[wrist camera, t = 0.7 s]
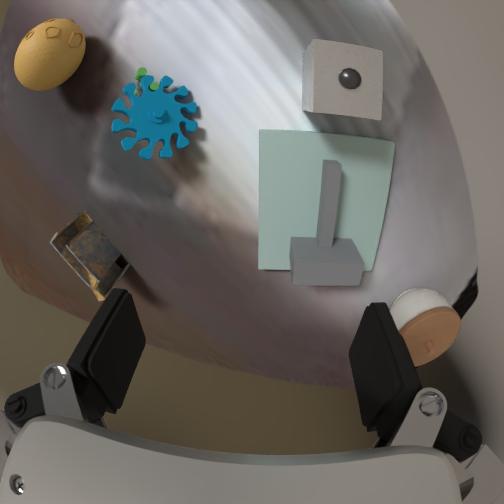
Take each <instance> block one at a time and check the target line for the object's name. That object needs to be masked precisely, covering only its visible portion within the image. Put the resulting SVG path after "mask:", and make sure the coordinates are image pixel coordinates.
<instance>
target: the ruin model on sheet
mask: <svg viewBox="0 0 504 504" xmlns="http://www.w3.org/2000/svg"><path fill="white" fill-rule="evenodd" d="M50 243H51V245H52V246H53V247H54V248H55V249H56V251H57V252H58V253H59V254H60V255H61V256H62V258H63V259H64V260H65V261H66V262H67V263H68V264H69V266H70V267H71V268H72V269H73V270H74V271H75V272H76V273H77V274H78V275H79V277H80V278H81V279H82V280H83V281H84V282H85V283H86V284H87V285H88V286H89V287H90V288H91V289H92V290H93V292H94V294H95V295H96V297H97V299H98V301H101V300H105V299H106V297H107V296H108V295H109V293H110V292H111V290H112V289H113V288H115V286H116V285H117V283H118V282H119V280H120V279H121V278H122V276H123V275H124V273H125V272H126V270H127V269H128V267H129V266H130V265H131V264H130V263H129V264H127V265H126V266H125V267H124V268H122V269H121V268H120V267H119V266H118V265H117V264H116V263H115V261H116V260H117V259H118V257H119V256H120V255H121V253H120V252H119V251H118V250H117V249H116V248H115V247H114V246H113V244H112V243H111V242H110V241H109V240H108V239H107V238H106V236H105V235H104V234H103V233H102V232H101V231H100V230H99V228H98V227H97V226H96V225H95V224H94V222H93V221H92V220H91V218H90V217H89V216H88V215H87V214H86V211H82V212H81V213H80V214H78V215H77V216H76V217H75V218H73V219H72V220H71V221H70V222H68V223H67V224H66V225H65V226H63V227H62V228H61V229H60V230H59V231H57V232H56V234H55V235H54V236H53V238H52V239H51V241H50Z"/></svg>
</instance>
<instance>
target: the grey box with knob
mask: <svg viewBox="0 0 504 504" xmlns="http://www.w3.org/2000/svg"><path fill="white" fill-rule="evenodd" d="M382 99H383V50H379V49H375V48H370V47H365V46H360V45H355V44H349V43H343V42H337V41H329V40H321V39H313V40H312V41H311V43H310V44H309V45H308V47H307V48H306V49H305V51H304V52H303V80H302V110H304V111H309V112H315V113H327V114H336V115H345V116H353V117H360V118H367V119H374V120H380V121H381V118H382Z"/></svg>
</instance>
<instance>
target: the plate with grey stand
mask: <svg viewBox="0 0 504 504" xmlns="http://www.w3.org/2000/svg"><path fill="white" fill-rule="evenodd" d="M394 149H395V142H393V141H390V140H384V139H377V138H370V137H363V136H355V135H346V134H337V133H326V132H313V131H296V130H266V129H260V130H259V266H258V269H272V270H291V277H292V285H313V286H359V285H360V281H361V277H362V273H363V271H372V267H373V263H374V259H375V255H376V251H377V247H378V243H379V238H380V234H381V229H382V224H383V219H384V214H385V209H386V203H387V198H388V192H389V186H390V179H391V172H392V165H393V157H394Z"/></svg>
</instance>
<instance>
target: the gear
mask: <svg viewBox="0 0 504 504" xmlns="http://www.w3.org/2000/svg"><path fill="white" fill-rule="evenodd" d="M146 73H147V71H146V69H145V68H139V69H138V71H137V72H136V74H135V76H134V77H135V79H136V80H139V81H138V82H137V84H136V85H135V84H134V83H130V84H127V85H126V86H124V88H123V89H122V91H123V93H124V94H125V95H126V96H128V97H129V99H130V101H131V104H132V108H131V109H127V108H126V107H125V104H124V101H123V100H122V99H119V98H118V99H117V100H116V101H115V103H114V104H113V106H112V108H111V110H112V111H113V112H119V113H123V114H125V115H126V116H127V117H128V118H129V119H130V124H125V123H124V122H123V121H121V120H120V119H115V120H114V121H113V123H112V132H113V133H118V132H120V131H122V130H131V131H134V132H136V135H137V136H136V138H130V137H126V138H124V139H123V140H122V141H121V145H122V147H123V149H124V150H125V151H128V150H130V149H131V148H132V147H133V145H134V144H135V143H136V142H138V141H140V140H143V139H146V140H148V142H149V146H148V147H146V148H143V149H142V150H140V152H139V154H138V156H139V157H141V158H142V159H144V160H148V159H150V158H151V156H152V150H153V147H154V145H155V144H156V142H157V141H159V140H160V141H162V142H163V143H164V146H163V148H162V149H161V150H160V152H159V157H160V158H170V157H172V155H173V152H172V150H171V147H170V138H171V135H172V134H174V135H175V136H176V138H177V140H176V147H177V148H178V149H181V148H183V147H185V146H187V145H188V144H189V140H188V139H187V138H186V137H185V136H183V134H182V133H181V131H180V127H179V123H183V124H184V127H185V130H186V131H187V132H188V133H192V132H193V131H195V129H196V128H197V125H198V124H197V122H195V121H191V120H188V119H186V118H185V117H184V116H183V115H182V114H181V112H180V109H183V110H184V111H185V112H186V113H187V114H193V113H195V112H196V109H197V107H196V103H194V102H191V103H188V104H182V103H179V102H176V101H175V99H174V97H179V98H184V97H185V96H187V95H188V90H187V88H186V87H185V86H181V87H180V88H179V89H177V90H176V92H173V93H169V94H166V93H164V92H163V88H167V87H169V86H170V85H171V84H172V83H173V80H172V79H171V78H170V77H168V76H164V77H163V78H162V79H161V81H160V85H159V84H158V83H157V82H153V81H154V77H153V76H150V75H145V74H146ZM135 89H136V91H135ZM134 91H135V92H134ZM136 96H138V97H136Z"/></svg>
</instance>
